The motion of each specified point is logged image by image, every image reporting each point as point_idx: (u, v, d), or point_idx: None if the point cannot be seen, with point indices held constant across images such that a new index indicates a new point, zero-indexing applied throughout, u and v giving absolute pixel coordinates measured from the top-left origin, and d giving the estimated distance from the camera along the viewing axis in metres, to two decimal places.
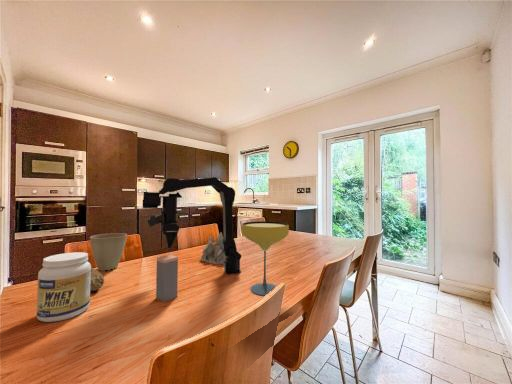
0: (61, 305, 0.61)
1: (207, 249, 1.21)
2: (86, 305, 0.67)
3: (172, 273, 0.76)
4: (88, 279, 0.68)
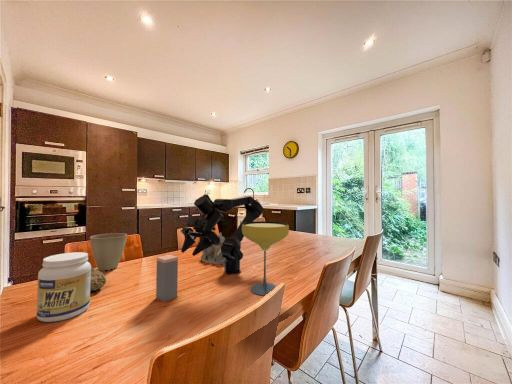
0: (61, 305, 0.61)
1: (207, 249, 1.21)
2: (86, 305, 0.67)
3: (172, 273, 0.76)
4: (88, 279, 0.68)
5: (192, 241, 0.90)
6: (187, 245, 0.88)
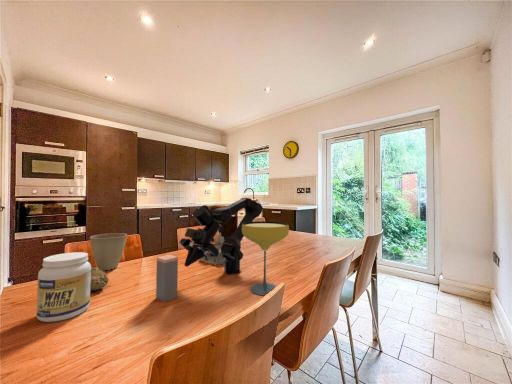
0: (61, 305, 0.61)
1: None
2: (86, 305, 0.67)
3: (172, 273, 0.76)
4: (88, 279, 0.68)
5: None
6: None
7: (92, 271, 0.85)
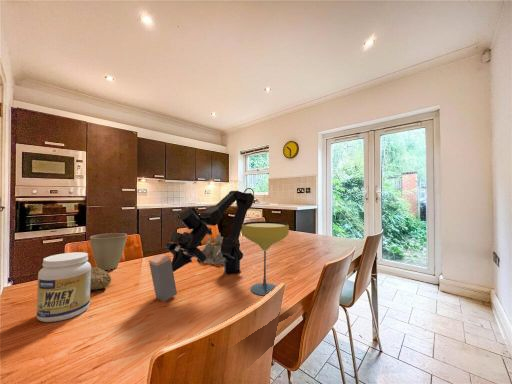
0: (61, 305, 0.61)
1: (205, 249, 1.20)
2: (86, 305, 0.67)
3: (167, 273, 0.74)
4: (88, 279, 0.68)
5: None
6: None
7: (95, 270, 0.86)
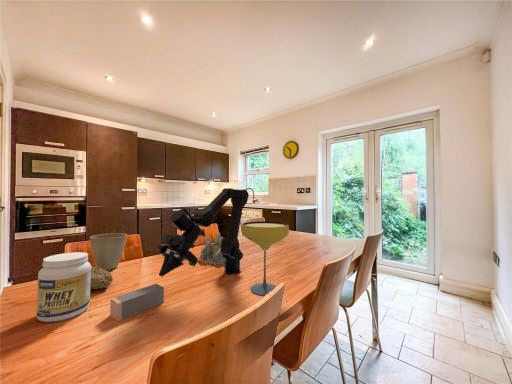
0: (61, 305, 0.61)
1: (205, 249, 1.20)
2: (86, 305, 0.67)
3: (136, 303, 0.66)
4: (88, 279, 0.68)
5: None
6: None
7: (96, 270, 0.86)
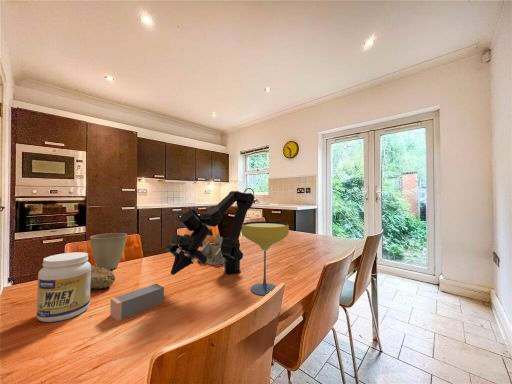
0: (61, 305, 0.61)
1: (204, 249, 1.20)
2: (86, 305, 0.67)
3: (136, 303, 0.66)
4: (88, 279, 0.68)
5: None
6: None
7: (98, 270, 0.87)
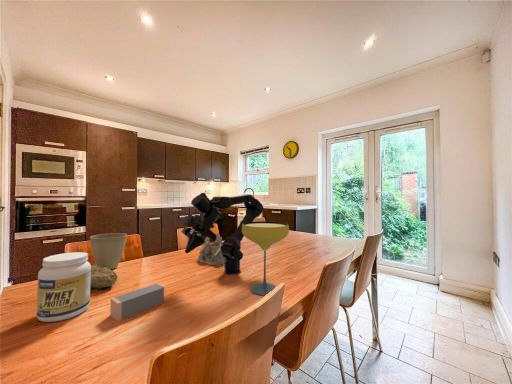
0: (61, 305, 0.61)
1: (204, 250, 1.19)
2: (86, 305, 0.67)
3: (136, 303, 0.66)
4: (88, 279, 0.68)
5: None
6: None
7: (100, 269, 0.87)
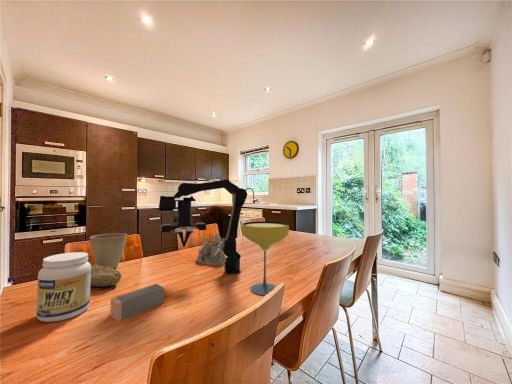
0: (61, 305, 0.61)
1: (203, 250, 1.19)
2: (86, 305, 0.67)
3: (136, 304, 0.66)
4: (88, 279, 0.68)
5: (185, 233, 0.96)
6: (184, 239, 0.97)
7: (104, 268, 0.88)
